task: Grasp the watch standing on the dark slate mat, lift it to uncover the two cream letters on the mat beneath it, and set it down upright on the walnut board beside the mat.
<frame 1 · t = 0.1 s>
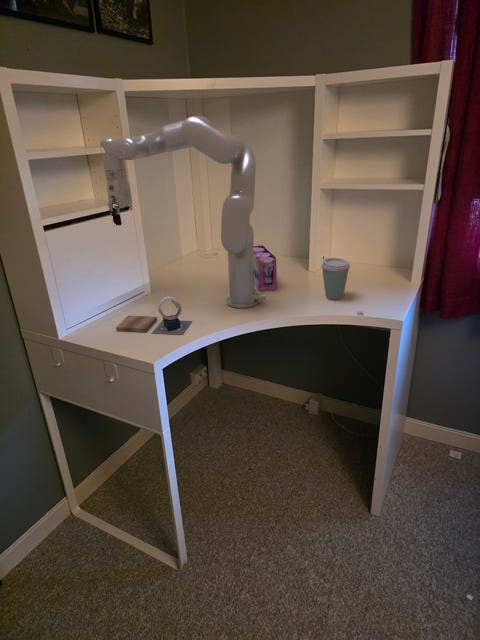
hand: (123, 222, 162), 31 cm above the table, tool pointing down, fingers open, 9 cm apart
watch: (172, 327, 148), resting on code mat
walnut board: (137, 325, 150), on the table
code mat: (172, 327, 148), on the table
gum box: (261, 282, 187), on the table
disposable coffee cup: (334, 298, 167), on the table
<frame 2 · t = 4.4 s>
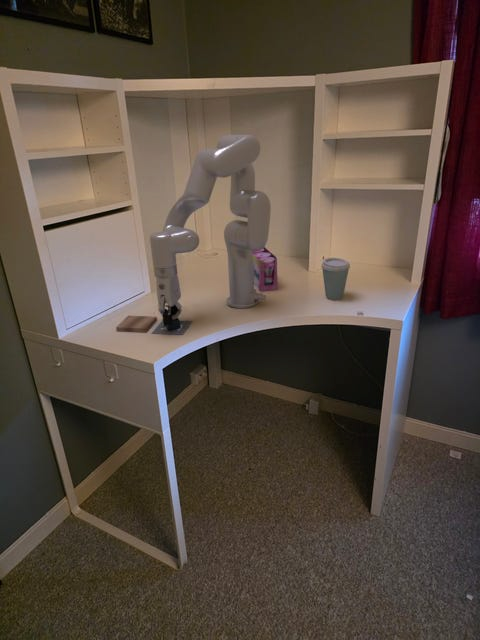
hand: (171, 320, 147), 3 cm above the table, tool pointing down, fingers closed on watch, 5 cm apart
watch: (172, 327, 148), resting on code mat, touching gripper
everything else where it was.
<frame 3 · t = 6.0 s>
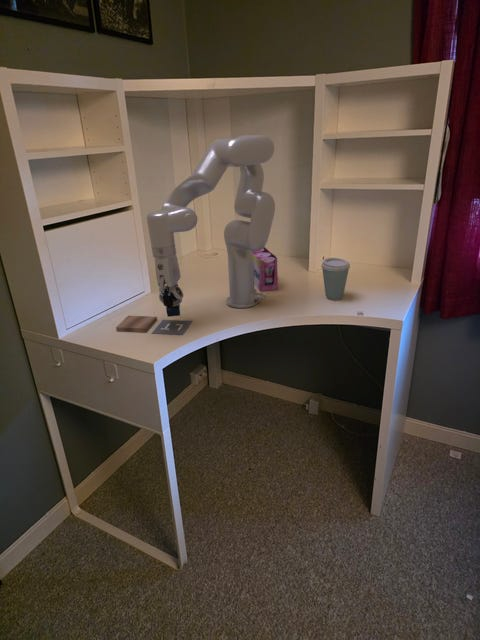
hand: (171, 301, 144), 9 cm above the table, tool pointing down, fingers closed on watch, 5 cm apart
watch: (174, 310, 149), point 5 cm above the table, touching gripper
everything else where it was.
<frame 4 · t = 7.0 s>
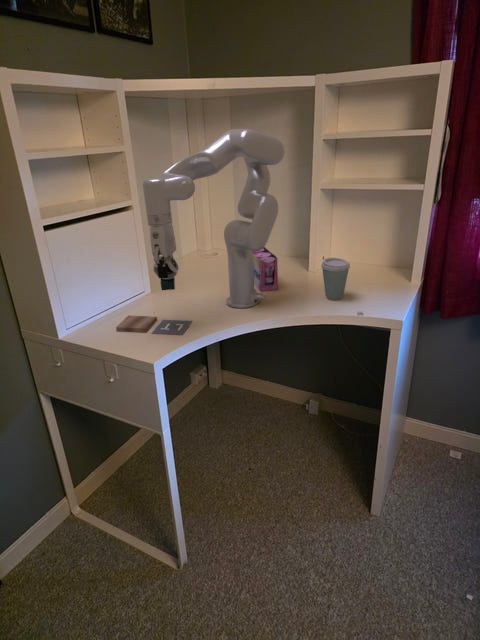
hand: (166, 274, 140), 19 cm above the table, tool pointing down, fingers closed on watch, 5 cm apart
watch: (168, 284, 144), point 15 cm above the table, touching gripper
everything else where it was.
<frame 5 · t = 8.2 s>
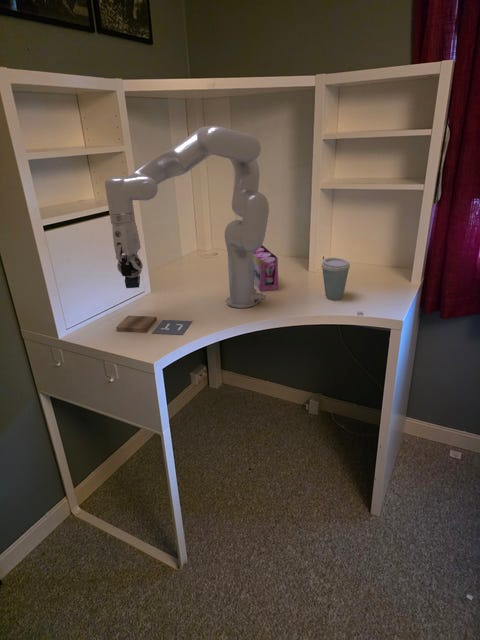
hand: (130, 272, 142), 20 cm above the table, tool pointing down, fingers closed on watch, 5 cm apart
watch: (133, 283, 146), point 15 cm above the table, touching gripper
everything else where it was.
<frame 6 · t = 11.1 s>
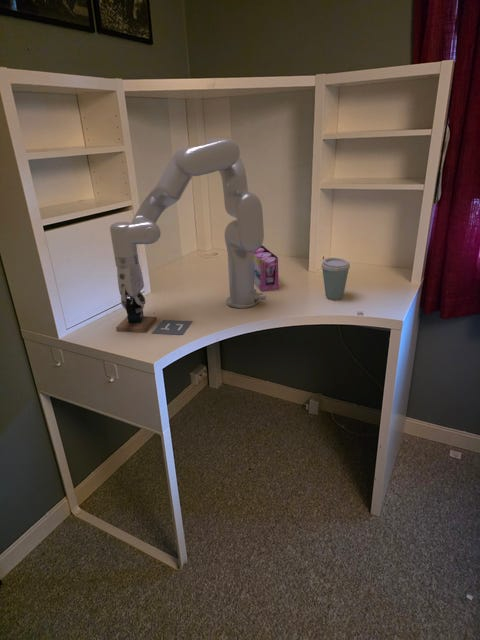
hand: (134, 310, 148), 6 cm above the table, tool pointing down, fingers closed on watch, 4 cm apart
watch: (136, 318, 151), point 2 cm above the table, touching gripper
everything else where it was.
when the fingers open (6 cm above the table, at t = 11.3 s): watch stays where it is, resting on walnut board.
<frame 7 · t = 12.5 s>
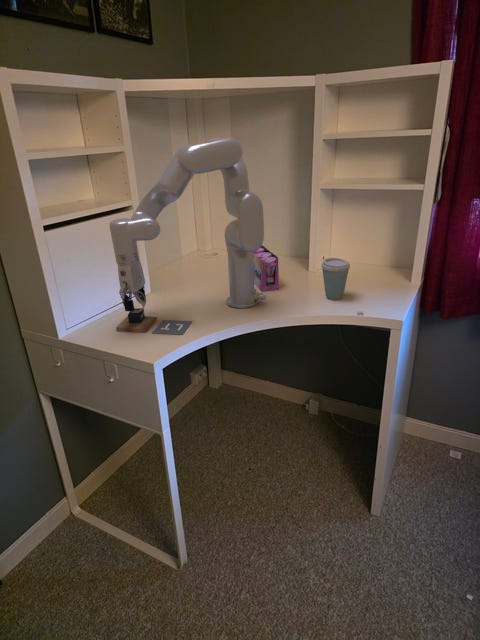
hand: (135, 305, 147), 8 cm above the table, tool pointing down, fingers open, 9 cm apart
watch: (137, 320, 151), point 1 cm above the table, touching gripper, walnut board
everything else where it was.
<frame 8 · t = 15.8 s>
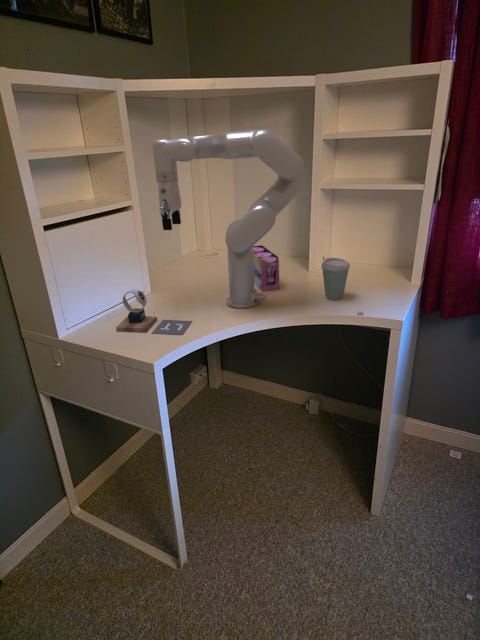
hand: (172, 226, 155), 30 cm above the table, tool pointing down, fingers open, 9 cm apart
watch: (137, 320, 151), point 1 cm above the table, touching walnut board
everything else where it was.
at the end: watch inside the target area on the walnut board (2.0 cm from its centre), point 1.3 cm above the walnut board's base; watch tilted 0°; the gripper is holding nothing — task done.
